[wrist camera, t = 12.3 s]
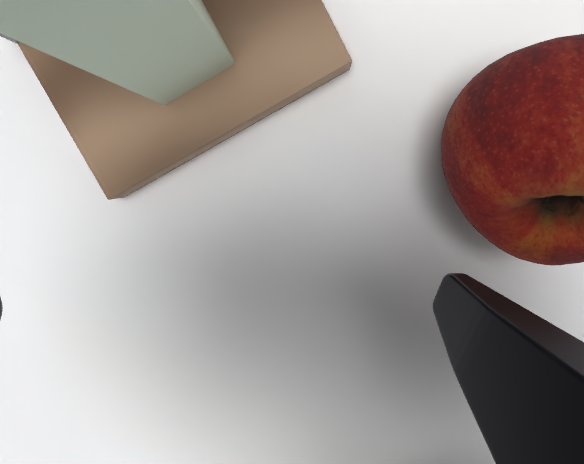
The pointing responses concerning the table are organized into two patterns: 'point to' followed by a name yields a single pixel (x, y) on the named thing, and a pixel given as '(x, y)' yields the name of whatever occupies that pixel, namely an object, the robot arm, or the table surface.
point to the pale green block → (125, 40)
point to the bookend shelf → (195, 92)
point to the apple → (523, 152)
